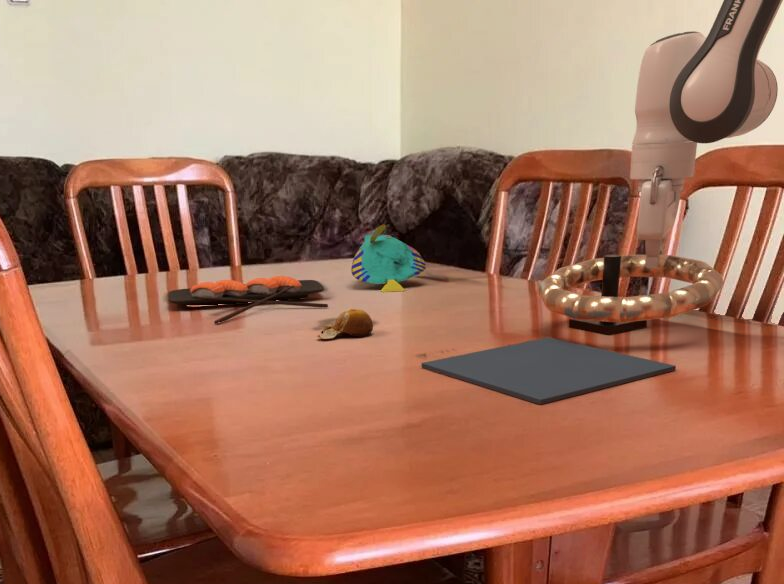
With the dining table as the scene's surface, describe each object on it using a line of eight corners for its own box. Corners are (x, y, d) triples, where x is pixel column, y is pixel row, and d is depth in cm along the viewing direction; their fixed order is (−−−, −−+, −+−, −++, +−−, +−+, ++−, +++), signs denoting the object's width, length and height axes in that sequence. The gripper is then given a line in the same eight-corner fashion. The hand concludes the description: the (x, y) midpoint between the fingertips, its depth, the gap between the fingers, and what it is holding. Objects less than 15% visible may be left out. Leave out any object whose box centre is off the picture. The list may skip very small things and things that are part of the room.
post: (605, 319, 128) (611, 250, 124) (646, 327, 122) (653, 255, 118) (568, 327, 125) (572, 256, 120) (608, 335, 119) (614, 261, 114)
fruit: (322, 329, 130) (320, 305, 128) (375, 328, 129) (374, 304, 128) (316, 341, 122) (314, 316, 121) (371, 339, 122) (370, 314, 120)
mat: (547, 341, 116) (548, 337, 116) (675, 370, 100) (676, 365, 99) (421, 367, 106) (421, 362, 106) (540, 405, 89) (540, 399, 89)
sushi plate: (316, 288, 168) (315, 269, 166) (342, 314, 141) (340, 291, 139) (170, 299, 162) (167, 279, 161) (168, 328, 136) (164, 304, 134)
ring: (576, 271, 133) (576, 251, 131) (736, 276, 120) (739, 253, 119) (513, 319, 116) (512, 296, 114) (693, 330, 104) (695, 304, 102)
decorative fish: (346, 209, 167) (419, 204, 168) (349, 262, 177) (419, 258, 178) (352, 266, 156) (431, 261, 156) (355, 320, 165) (429, 315, 166)
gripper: (680, 167, 109) (669, 276, 115) (690, 162, 126) (680, 256, 132) (630, 169, 111) (622, 275, 117) (647, 163, 128) (639, 256, 134)
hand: (653, 265), depth 124 cm, fingers closed on ring, 3 cm apart
